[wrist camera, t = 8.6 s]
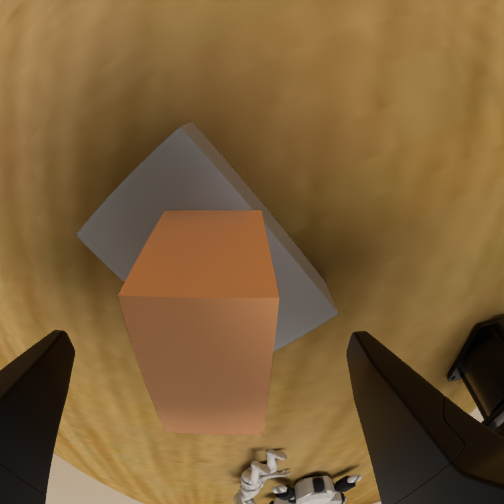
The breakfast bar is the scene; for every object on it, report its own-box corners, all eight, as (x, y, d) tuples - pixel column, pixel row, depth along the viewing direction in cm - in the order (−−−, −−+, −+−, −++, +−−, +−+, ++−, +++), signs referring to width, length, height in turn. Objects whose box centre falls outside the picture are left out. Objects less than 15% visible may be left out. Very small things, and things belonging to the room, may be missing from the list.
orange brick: (255, 337, 13) (263, 434, 9) (180, 336, 13) (164, 431, 9) (261, 210, 11) (279, 297, 6) (164, 210, 10) (118, 295, 6)
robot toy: (266, 468, 30) (262, 501, 36) (269, 499, 26) (264, 524, 32) (362, 456, 30) (336, 493, 36) (370, 483, 26) (341, 514, 32)
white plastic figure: (305, 439, 26) (288, 498, 28) (267, 420, 29) (258, 481, 31) (255, 483, 20) (248, 534, 22) (215, 456, 23) (216, 512, 25)
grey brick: (323, 277, 16) (338, 313, 13) (235, 332, 17) (235, 372, 15) (193, 120, 12) (180, 126, 9) (102, 208, 13) (75, 234, 11)
